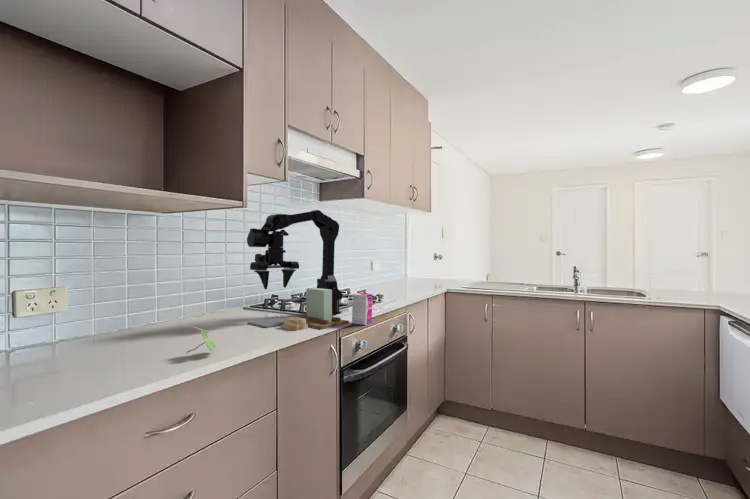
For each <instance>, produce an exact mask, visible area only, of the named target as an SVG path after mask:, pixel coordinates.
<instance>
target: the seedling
mask: <svg viewBox="0 0 750 499" xmlns="http://www.w3.org/2000/svg"><path fill="white" fill-rule="evenodd" d="M200 334H201V335H202V337H203V339H204V342H203V343H201V344H199V345H198V346H196V347H195V348H194V349H191V350H188V351H187V352H186V353H185V354H188V353H190V352H192V351H195V350H197V349H198V348H199V347H201V346H203V345H204V344H206V347H207V349H208V350H209V351H210V352H212V353H214V350H216V348H217V345H216V343H215V342H214V341H213V340H212V339H210V338H209V337H208V334H207V332H206V330H205V329H204V328H201V329H200Z"/></svg>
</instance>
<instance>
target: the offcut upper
mask: <svg viewBox="0 0 750 499" xmlns="http://www.w3.org/2000/svg"><path fill="white" fill-rule="evenodd" d="M284 318H285V317H284ZM285 324H287V325H292V326H302V325H306V319H303V318H298V316H291V317H286V318H285Z"/></svg>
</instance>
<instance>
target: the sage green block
mask: <svg viewBox="0 0 750 499" xmlns="http://www.w3.org/2000/svg"><path fill="white" fill-rule="evenodd" d="M305 291H306V292H305V294H306V296H305V297H306V298H305V300H306V303H305V305H306V306H305V307H306V308H305V310H306V313H305V316H308V317H314V318H320V319H325V320H329V322H332V316H333V314H332V290H331V289H321V288H317V287H310V288H309V287H307V288H306V289H305Z"/></svg>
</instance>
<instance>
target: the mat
mask: <svg viewBox="0 0 750 499" xmlns="http://www.w3.org/2000/svg"><path fill="white" fill-rule="evenodd" d="M284 323H285V317H280V316H278V317H271V318H265V319H264V318H263V319H260V320H259V319H258V320H254V321H252V320H251V321H247V324H248V325H252V326H256V327H260V328H265V329H268V328H273V327H279V326H283V324H284Z"/></svg>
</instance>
